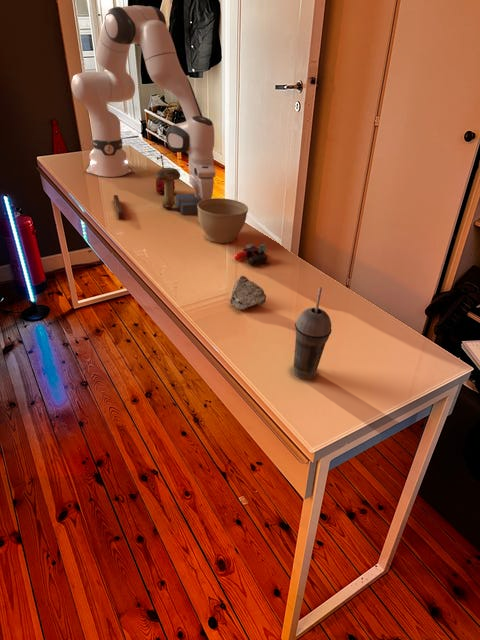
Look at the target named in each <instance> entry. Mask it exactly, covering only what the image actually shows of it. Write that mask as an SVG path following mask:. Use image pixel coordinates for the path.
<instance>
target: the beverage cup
mask: <svg viewBox="0 0 480 640" xmlns="http://www.w3.org/2000/svg"><path fill="white" fill-rule="evenodd" d="M322 292H323V287H322V286H319V287H318V293H317V298H316V303H315V304H316V305H315V307H309V308H306V309H304V310H303V311H302V312H300V314H299V315H298V317H297V319H296V321H295V324H294V328H295V329H294V330H295V345H294V356H293V374H294V376H295V377H296V378H297V379H300V380H303V381H304V380H305V381H306V380H307V381H309V380H312V379H314V377H315V375H316V373H317V371H318V368H319V365H320V363H321V362H320V361H321V359H322V355H323V353H324V349H325V346H326V343H327V342H328V341H329V338H330V335H331V334H332V321H331V318H330V315H329V314H328V313H327V312H326V311H325V310H323V309H321V308H319V306H320V301H321V296H322Z"/></svg>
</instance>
